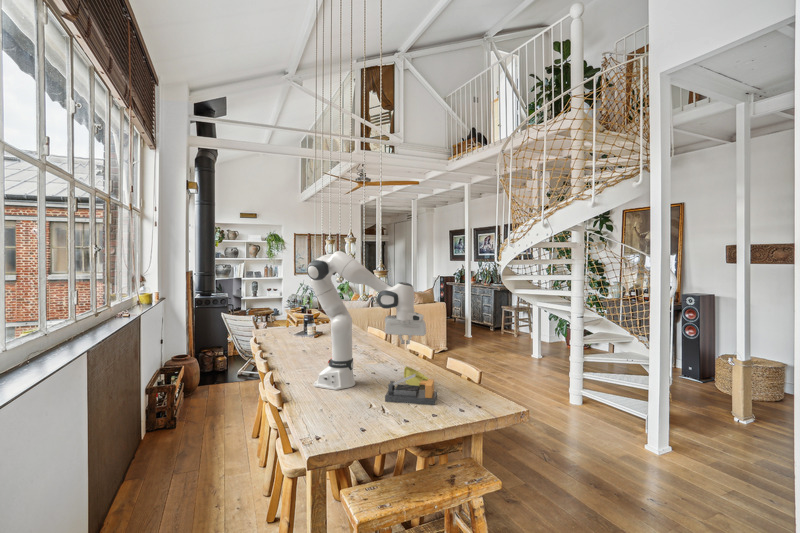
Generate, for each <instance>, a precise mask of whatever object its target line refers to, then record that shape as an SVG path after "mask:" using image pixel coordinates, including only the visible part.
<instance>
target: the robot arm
mask: <svg viewBox="0 0 800 533" xmlns="http://www.w3.org/2000/svg"><path fill="white" fill-rule="evenodd" d="M306 273H307V275H308V277H309V278H310V285H311V287H312V290H313V293H314V294H315V297H316V298H317V301H318V303H319V305H320V306H321V309H322V310H323V312H324V313H325V314H326V316H327V318H328V319H329V321H330V337H331V338H330V339H331V357H330V358H329V359H328V361H327V364H328V365H327V366H326V367H325V368H324V369H323V370H321V371H320V372H319V373H318V377H317V380H315V381H314V382H313V387H314V388H322V389H327V390H333V391H338V390H341V389H348V388H352V387H354V386H356V380H355V376H354V358H353V318H352V316H351V314H350V312H349V310H348V308H347V307H346V305H345V303H344V302H343V300H342V299H341V296H340V294H339V292H338V291H337V289H336V286H335V285H334V282H333V281H332V276H336V274H338V275H340V276H341V277H342V279H343V280H345V281H348V282H349V283H352V284H355V285H363V286H368V287H369V288H371V289H373V290H375V291H376V292H378V294H377V297H376V301H377V304H378V306H380V307H381V308H382V309H384V310H385V309H387V310H388V309H389V310H390V309H392V308H395V309H396V310H395V311H396V313H395V314H396V315H395V314H394V315H389V314H388V315H386V316H385V317H384V323H385V324H384V333H385V334H386V335H394V336H395V335H396V336H397V335H398V338H399V340H400V345H404V344H406V345H410V343H411V339H412V338H413V336H419V337H420V336H421V337H424V336H425V335H426V334H427V327H426V321H425V320H424V319H425V318H424V317H425V316H424V314H422V313H419V312H416V311H415V307H414V305H415V304H414V303H415V290H414V289H415V288H414V286H413V285H412V284H411V283H408V282H398V283H397V284H395V285H390V284H388V283H387V282H386V281H384V280H383V279H381V278H380V277H378V276H377V275H375V274H373V272H371V271H370V270H369V269H368V268H366V267H365V266H364V265H363V264H362V263H360V262H359V261H358V260H357V259H355V258H354V257H353V256H350V255H349V254H348V253H346V252H344V251H342V250H337V251H335V252H330V253H327V254H324V255H321V256H319V257H318V258H316V259H314V260H312V261H310V262H309V264H308V265H307V266H306ZM403 336H408V339H407V340H405V339H403Z"/></svg>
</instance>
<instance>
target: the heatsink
mask: <svg viewBox="0 0 800 533" xmlns="http://www.w3.org/2000/svg"><path fill="white" fill-rule="evenodd" d="M394 382H396V380H390V383H388V385H387V386H388V387H387V388H388V390H387V392H386V393H385V395H384V402H389V403H397V404H398V403H400V404H410V405H411V404H413V405H423V406H425V405H426V406H435V405H436V403H437V399H438V391H437V390H434V393H433V396H432V398H425V389H420V387H419V386H415V385H408V384H401V383H398V384H396V386H395V385H393V384H391V383H394Z"/></svg>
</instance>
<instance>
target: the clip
mask: <svg viewBox="0 0 800 533" xmlns="http://www.w3.org/2000/svg"><path fill="white" fill-rule="evenodd" d="M420 384H421V385H422V386H424V387H425V388H424V390H425V398H432V396H433V393H434V391H435V379H434V378H429V379H428V380H427V381H421V382H420ZM421 385H420V386H421Z"/></svg>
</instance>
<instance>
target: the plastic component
mask: <svg viewBox="0 0 800 533" xmlns="http://www.w3.org/2000/svg"><path fill="white" fill-rule="evenodd" d="M403 370H404V371H403V378H406V377H408V376H411V375H413V374H416V376H415V377H413V378H411V379H408V380H406V381H404V382H405V384H406V385H415V386H419V388H420V387H421V384H420V382H421V381H427V380H428V379H430V378H429V377H428V376H426V375H425V374H423V373H422V372H420V371H418V370H417V369H414V368H411V367H410V366H405V367H404V369H403Z"/></svg>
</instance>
